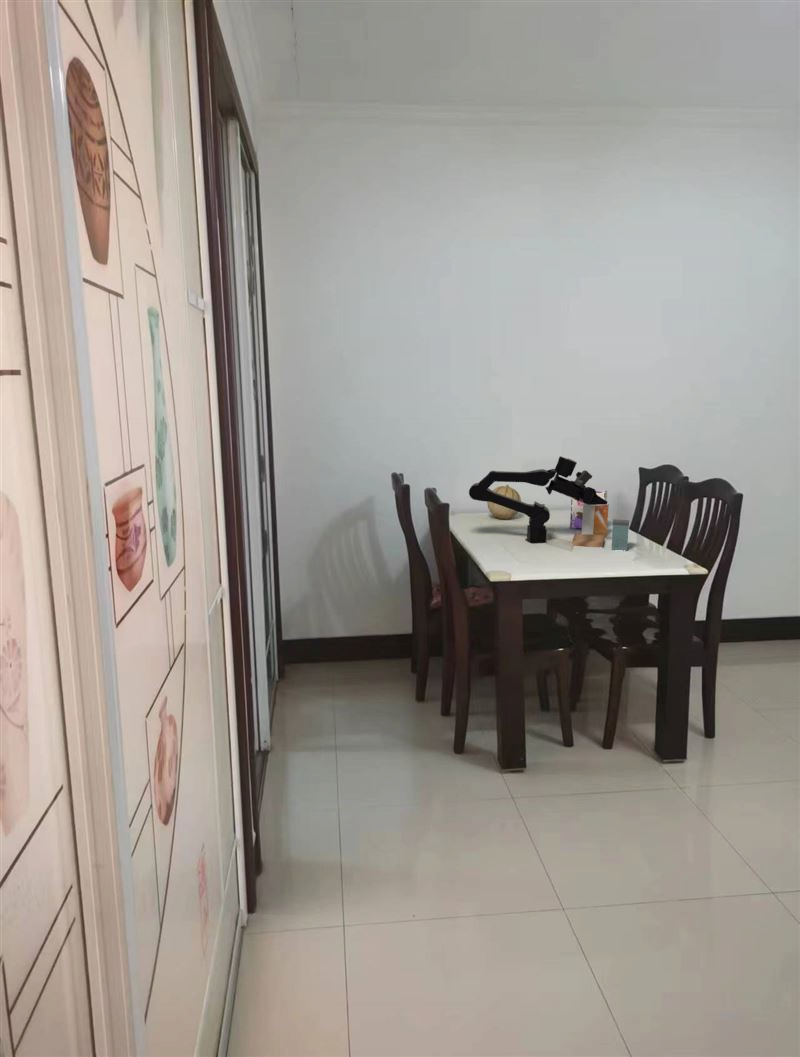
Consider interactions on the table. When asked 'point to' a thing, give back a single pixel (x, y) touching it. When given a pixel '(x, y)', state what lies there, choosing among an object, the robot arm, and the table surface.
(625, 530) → the tea tin
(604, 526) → the small box
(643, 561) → the table surface
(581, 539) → the walnut block
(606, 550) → the table surface
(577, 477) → the robot arm
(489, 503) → the cantaloupe
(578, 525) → the candy box
